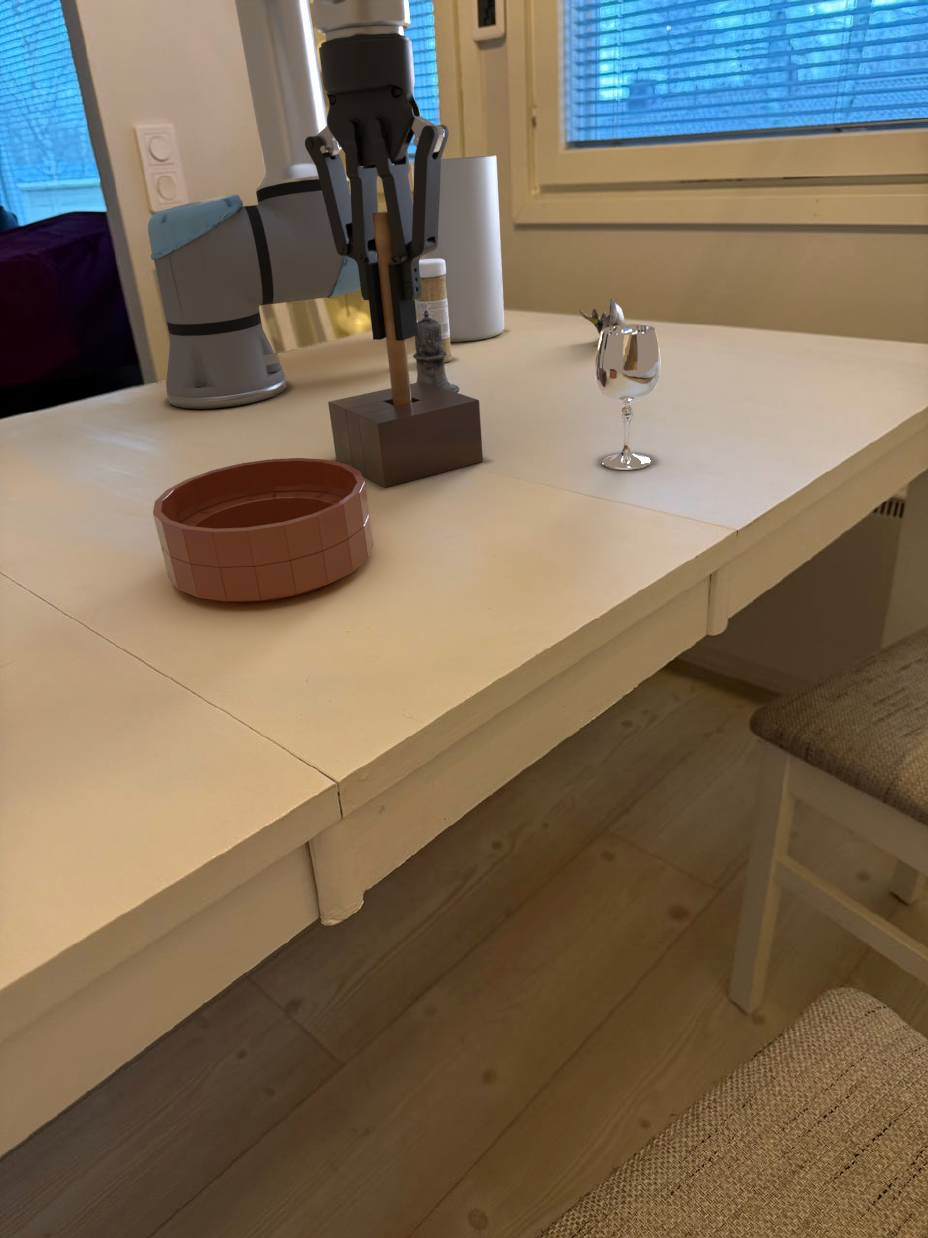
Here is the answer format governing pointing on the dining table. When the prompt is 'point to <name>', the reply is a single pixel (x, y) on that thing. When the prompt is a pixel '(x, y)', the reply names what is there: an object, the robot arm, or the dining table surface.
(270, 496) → the bowl
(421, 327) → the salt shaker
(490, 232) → the cylinder vase
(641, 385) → the wineglass
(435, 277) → the sprinkles bottle
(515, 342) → the dining table surface
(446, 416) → the stick stand
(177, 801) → the dining table surface
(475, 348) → the dining table surface
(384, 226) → the stirring stick
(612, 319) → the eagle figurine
